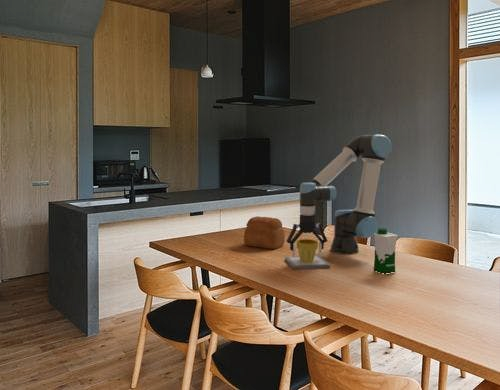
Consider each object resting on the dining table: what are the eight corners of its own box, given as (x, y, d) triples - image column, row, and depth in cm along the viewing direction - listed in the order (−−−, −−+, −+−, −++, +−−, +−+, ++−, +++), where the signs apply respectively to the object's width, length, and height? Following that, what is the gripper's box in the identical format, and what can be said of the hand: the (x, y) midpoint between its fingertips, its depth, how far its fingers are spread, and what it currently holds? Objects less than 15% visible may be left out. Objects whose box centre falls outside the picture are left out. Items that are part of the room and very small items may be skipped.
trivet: (318, 258, 233) (318, 255, 233) (329, 267, 216) (329, 264, 215) (285, 259, 231) (285, 256, 230) (293, 269, 213) (293, 266, 213)
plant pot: (316, 263, 217) (317, 244, 216) (295, 262, 219) (295, 243, 218) (317, 258, 227) (318, 239, 226) (297, 257, 229) (297, 238, 228)
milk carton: (384, 268, 215) (385, 227, 212) (398, 273, 207) (400, 230, 204) (370, 270, 211) (371, 229, 208) (384, 275, 203) (386, 232, 200)
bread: (273, 251, 249) (273, 221, 247) (241, 246, 260) (241, 217, 259) (287, 244, 264) (287, 216, 262) (256, 240, 275) (256, 213, 273)
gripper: (329, 212, 226) (328, 253, 228) (281, 213, 222) (280, 255, 225) (334, 214, 218) (333, 257, 221) (284, 215, 215) (283, 259, 217)
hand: (306, 256), depth 223 cm, fingers open, 13 cm apart
